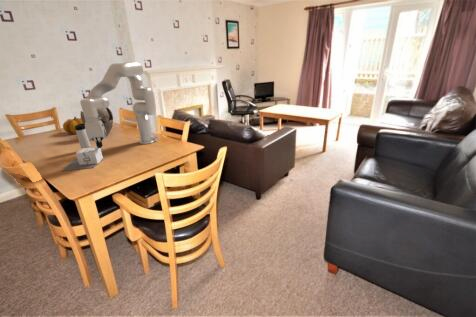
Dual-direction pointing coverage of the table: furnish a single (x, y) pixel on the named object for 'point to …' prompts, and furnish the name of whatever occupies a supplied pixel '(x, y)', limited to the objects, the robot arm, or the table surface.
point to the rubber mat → (77, 166)
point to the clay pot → (103, 118)
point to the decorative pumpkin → (72, 125)
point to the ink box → (89, 156)
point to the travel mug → (82, 136)
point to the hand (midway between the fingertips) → (100, 147)
